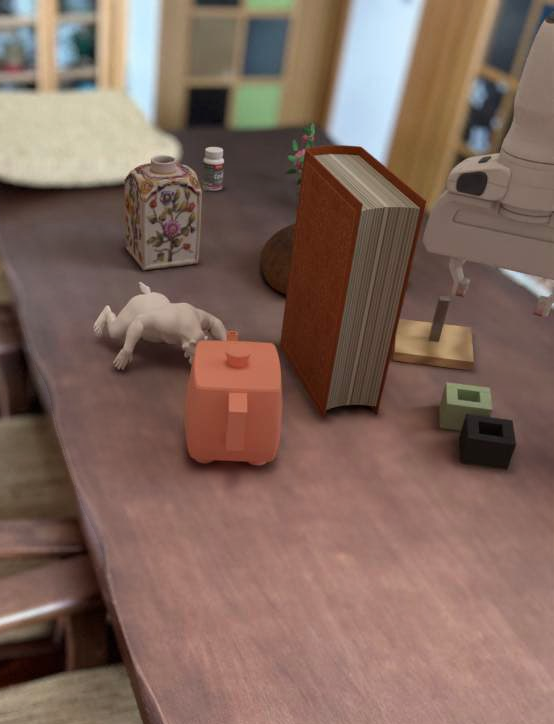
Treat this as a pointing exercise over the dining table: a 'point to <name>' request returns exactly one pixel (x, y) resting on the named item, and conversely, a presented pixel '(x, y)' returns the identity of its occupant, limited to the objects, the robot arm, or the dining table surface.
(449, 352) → the base board
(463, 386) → the green hollow square block
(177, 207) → the decorative jar
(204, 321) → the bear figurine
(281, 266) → the bread
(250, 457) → the teapot
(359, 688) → the dining table surface
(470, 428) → the black hollow square block
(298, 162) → the flower vase
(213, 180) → the pill bottle
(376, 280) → the book
